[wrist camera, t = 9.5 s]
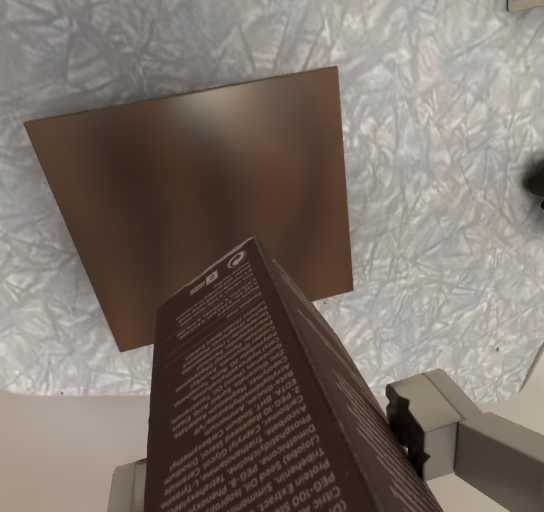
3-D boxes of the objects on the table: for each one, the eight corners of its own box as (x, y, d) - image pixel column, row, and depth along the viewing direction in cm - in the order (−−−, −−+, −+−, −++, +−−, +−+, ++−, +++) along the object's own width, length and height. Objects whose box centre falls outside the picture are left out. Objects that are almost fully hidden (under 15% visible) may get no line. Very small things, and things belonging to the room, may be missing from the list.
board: (121, 344, 29) (120, 353, 28) (28, 120, 22) (22, 122, 21) (348, 284, 31) (353, 290, 31) (332, 66, 24) (338, 65, 23)
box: (146, 311, 13) (40, 1408, 2) (254, 229, 13) (713, 1042, 2) (251, 405, 16) (425, 1091, 5) (342, 339, 15) (727, 922, 5)
